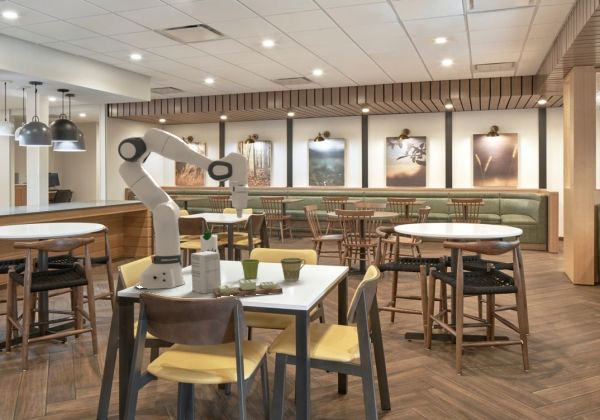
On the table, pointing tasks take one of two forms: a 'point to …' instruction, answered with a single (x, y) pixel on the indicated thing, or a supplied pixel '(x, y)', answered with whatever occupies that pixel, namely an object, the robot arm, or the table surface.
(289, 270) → the ceramic cup
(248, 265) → the plant pot
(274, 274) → the table surface
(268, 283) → the tile three
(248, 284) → the tile two
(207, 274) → the supplement box
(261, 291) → the frame
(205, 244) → the milk carton
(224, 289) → the tile one
